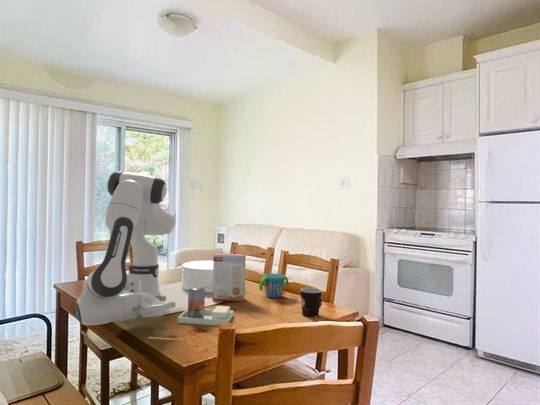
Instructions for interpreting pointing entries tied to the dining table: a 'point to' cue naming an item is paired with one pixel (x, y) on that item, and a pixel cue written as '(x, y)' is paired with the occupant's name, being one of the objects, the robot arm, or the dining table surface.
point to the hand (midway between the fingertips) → (169, 301)
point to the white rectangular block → (221, 312)
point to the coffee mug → (310, 301)
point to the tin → (196, 302)
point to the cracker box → (229, 277)
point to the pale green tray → (206, 320)
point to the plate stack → (198, 275)
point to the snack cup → (273, 284)
